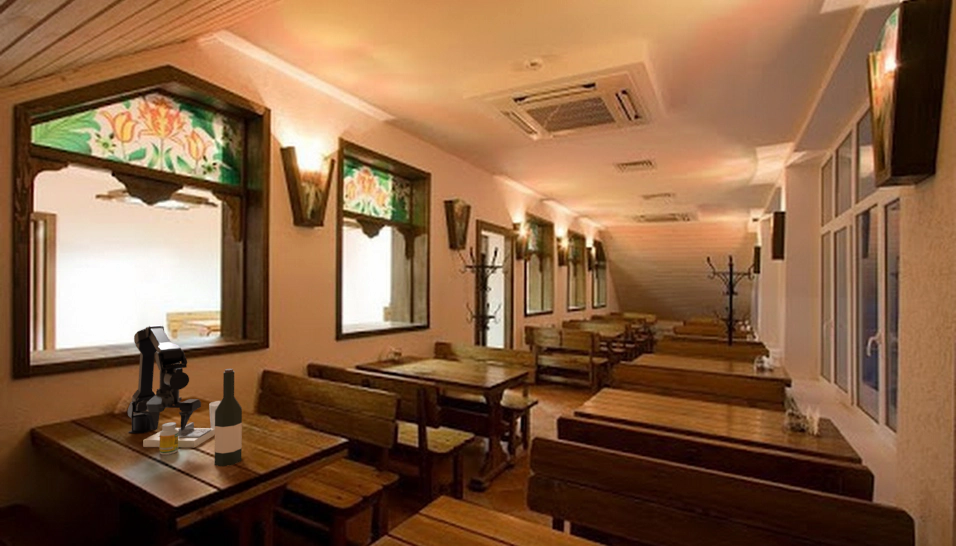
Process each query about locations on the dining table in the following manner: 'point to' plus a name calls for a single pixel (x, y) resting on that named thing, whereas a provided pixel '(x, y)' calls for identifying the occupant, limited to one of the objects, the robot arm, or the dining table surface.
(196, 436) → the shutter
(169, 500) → the dining table surface
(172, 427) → the supplement bottle
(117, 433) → the dining table surface
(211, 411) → the white cup
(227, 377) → the wine bottle
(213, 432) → the socket board
